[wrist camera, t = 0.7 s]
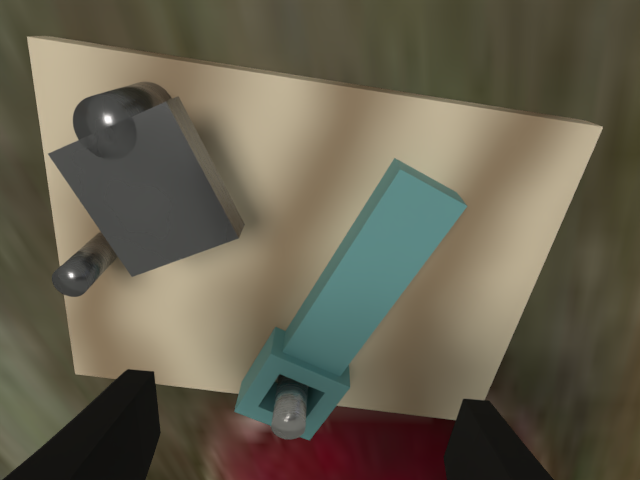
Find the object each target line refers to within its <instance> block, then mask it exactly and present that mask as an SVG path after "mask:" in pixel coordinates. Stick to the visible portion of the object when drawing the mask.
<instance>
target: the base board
mask: <svg viewBox="0 0 640 480" xmlns="http://www.w3.org/2000/svg"><path fill="white" fill-rule="evenodd" d="M27 39H28V46H29V53H30V60H31V67H32V74H33V81H34V88H35V95H36V102H37V109H38V116H39V123H40V130H41V137H42V144H43V151H44V158H45V165H46V172H47V179H48V186H49V193H50V200H51V207H52V214H53V221H54V228H55V235H56V242H57V249H58V256H59V263H60V266H61V265H63V264H64V263H65V262H66V261H67V260H68V259H69V258H70V257H72V256H73V255H74V254H75V253H76V252H77V251H78V250H80V249H81V248H82V247H83V246H84V245H85V244H86V243H87V242H89V241H90V240H91V239H92V238H93V237H94V236H95V235H96V234H98V233H99V232H101V231H100V230H99V228H98V227H97V225H96V224H95V222H94V221H93V219H92V218H91V217H90V215H89V214H88V212H87V211H86V209H85V208H84V206H83V205H82V203H81V202H80V200H79V199H78V197H77V196H76V195H75V193H74V192H73V190H72V189H71V187H70V186H69V184H68V183H67V181H66V180H65V178H64V177H63V176H62V174H61V173H60V171H59V170H58V168H57V167H56V165H55V164H54V162H53V161H52V159H51V158H50V156H49V155H48V153H51V152H53V151H55V150H57V149H60V148H62V147H64V146H66V145H69V144H71V143H73V142H75V141H78V140H79V139H78V138H77V136H76V134H75V131H74V127H73V114H74V110H75V108H76V106H77V105H78V104H79V103H80V102H81V101H82V100H83V99H85V98H87V97H90V96H93V95H96V94H100V93H104V92H107V91H111V90H114V89H118V88H121V87H125V86H128V85H132V84H135V83H139V82H152V83H155V84H157V85H159V86H161V87H162V88H164V89H165V90H166V91H167V92H168V94H169V95H170V96H171V98H172V99H173V98H175V97H177V96H179V98H180V100H181V102H182V104H183V106H184V107H185V109H186V111H187V113H188V115H189V117H190V119H191V121H192V123H193V125H194V127H195V129H196V131H197V133H198V135H199V136H200V138H201V140H202V142H203V144H204V146H205V148H206V150H207V152H208V154H209V156H210V158H211V160H212V162H213V164H214V165H215V167H216V169H217V171H218V173H219V175H220V177H221V179H222V181H223V183H224V185H225V187H226V189H227V191H228V192H229V194H230V196H231V198H232V200H233V202H234V204H235V206H236V208H237V210H238V212H239V214H240V216H241V218H242V220H243V221H244V223H245V225H244V228H243V230H242V232H241V235H240V237H239V239H236V240H233V241H230V242H228V243H225V244H222V245H219V246H216V247H214V248H211V249H208V250H205V251H203V252H200V253H197V254H194V255H192V256H189V257H186V258H183V259H181V260H178V261H175V262H172V263H170V264H167V265H164V266H161V267H159V268H156V269H153V270H150V271H147V272H145V273H142V274H139V275H136V276H134V277H131V275H130V274H129V272H128V271H127V269H126V268H125V266H124V265H123V263H122V262H121V260H120V259H119V258H118V257H117V258H116V260H115V261H114V262H113V263H112V264H111V265H110V266H109V267H108V268H107V269H106V270H105V271H104V273H103V274H102V275H101V276H100V277H99V278H98V279H97V280H96V281H95V282H94V283H93V284H92V286H91V287H90V288H89V289H88V290H87V291H86V292H85V293H84V294H83V295H81V296H78V297H70V296H66V295H64V298H65V305H66V312H67V319H68V326H69V333H70V340H71V347H72V354H73V361H74V368H75V374H79V375H87V376H96V377H104V378H112V379H117V378H118V377H119V376H120V375H121V374H122V373H123V372H125V371H126V370H127V369H132V370H143V371H154V375H155V384H162V385H170V386H178V387H186V388H195V389H203V390H211V391H219V392H228V393H236V394H239V390H240V386H241V382H242V380H243V379H244V377H245V376H246V374H247V372H248V371H249V369H250V367H251V366H252V364H253V363H254V361H255V359H256V358H257V356H258V354H259V353H260V351H261V350H262V348H263V346H264V345H265V343H266V341H267V340H268V338H269V337H270V335H271V333H272V332H273V330H274V328H275V327H277V328H279V329H282V330H284V331H286V329H287V328H288V326H289V325H290V323H291V321H292V320H293V318H294V317H295V315H296V314H297V312H298V310H299V309H300V307H301V306H302V304H303V302H304V301H305V299H306V298H307V296H308V295H309V293H310V291H311V290H312V288H313V287H314V285H315V283H316V282H317V280H318V279H319V277H320V275H321V274H322V272H323V271H324V269H325V268H326V266H327V264H328V263H329V261H330V260H331V258H332V256H333V255H334V253H335V252H336V250H337V249H338V247H339V245H340V244H341V242H342V241H343V239H344V237H345V236H346V234H347V233H348V231H349V229H350V228H351V226H352V225H353V223H354V222H355V220H356V218H357V217H358V215H359V214H360V212H361V210H362V209H363V207H364V206H365V204H366V203H367V201H368V199H369V198H370V196H371V195H372V193H373V191H374V190H375V188H376V187H377V185H378V183H379V182H380V180H381V179H382V177H383V176H384V174H385V172H386V171H387V169H388V168H389V166H390V164H391V163H392V161H393V160H394V158H396V159H397V160H399V161H401V162H403V163H405V164H406V165H408V166H410V167H412V168H414V169H416V170H417V171H419V172H421V173H423V174H425V175H426V176H428V177H430V178H432V179H434V180H435V181H437V182H439V183H441V184H443V185H444V186H446V187H448V188H450V189H452V190H453V191H455V192H457V193H458V195H459V196H460V197H461V198H462V200H463V201H464V202H465V204H466V205H467V207H466V209H465V210H464V211H463V213H462V214H461V215H460V217H459V218H458V219H457V221H456V222H455V223H454V225H453V226H452V227H451V229H450V230H449V231H448V233H447V234H446V235H445V237H444V238H443V239H442V241H441V242H440V243H439V245H438V246H437V247H436V249H435V250H434V251H433V253H432V254H431V256H430V257H429V258H428V260H427V261H426V262H425V264H424V265H423V266H422V268H421V269H420V270H419V272H418V273H417V274H416V276H415V277H414V278H413V280H412V281H411V282H410V284H409V285H408V286H407V288H406V289H405V290H404V292H403V293H402V294H401V296H400V297H399V298H398V300H397V301H396V302H395V304H394V305H393V306H392V308H391V309H390V310H389V312H388V313H387V314H386V316H385V317H384V318H383V320H382V321H381V322H380V324H379V325H378V326H377V328H376V329H375V330H374V332H373V333H372V334H371V336H370V337H369V338H368V340H367V341H366V342H365V344H364V345H363V346H362V348H361V349H360V350H359V352H358V353H357V354H356V356H355V357H354V358H353V360H352V361H351V363H350V364H349V373H350V389H349V390H348V391H347V393H346V394H345V395H344V396H343V398H342V399H341V400H340V402H339V403H338V404H337V406H343V407H351V408H359V409H368V410H376V411H384V412H392V413H401V414H409V415H417V416H425V417H434V418H442V419H450V420H456V419H457V416H458V413H459V410H460V407H461V404H462V401H463V399H474V400H485V398H486V396H487V393H488V391H489V389H490V386H491V384H492V382H493V380H494V377H495V375H496V373H497V370H498V368H499V366H500V363H501V361H502V359H503V357H504V354H505V352H506V350H507V347H508V345H509V343H510V340H511V338H512V336H513V333H514V331H515V329H516V327H517V324H518V322H519V320H520V317H521V315H522V313H523V310H524V308H525V306H526V304H527V301H528V299H529V297H530V294H531V292H532V290H533V287H534V285H535V283H536V281H537V278H538V276H539V274H540V271H541V269H542V267H543V264H544V262H545V260H546V257H547V255H548V253H549V251H550V248H551V246H552V244H553V241H554V239H555V237H556V234H557V232H558V230H559V228H560V225H561V223H562V221H563V218H564V216H565V214H566V211H567V209H568V207H569V205H570V202H571V200H572V198H573V195H574V193H575V191H576V188H577V186H578V184H579V181H580V179H581V177H582V175H583V172H584V170H585V168H586V165H587V163H588V161H589V158H590V156H591V154H592V152H593V149H594V147H595V145H596V142H597V140H598V138H599V135H600V133H601V131H602V129H603V127H602V126H599V125H596V124H594V123H591V122H588V121H585V120H579V119H573V118H566V117H560V116H554V115H547V114H541V113H535V112H528V111H522V110H515V109H509V108H503V107H496V106H490V105H484V104H477V103H471V102H465V101H458V100H452V99H445V98H439V97H433V96H426V95H420V94H414V93H407V92H401V91H395V90H388V89H382V88H376V87H369V86H363V85H356V84H350V83H344V82H337V81H331V80H325V79H318V78H312V77H306V76H299V75H293V74H286V73H280V72H274V71H267V70H261V69H255V68H248V67H242V66H236V65H229V64H223V63H216V62H210V61H204V60H197V59H191V58H185V57H178V56H172V55H166V54H159V53H153V52H146V51H140V50H134V49H127V48H121V47H115V46H108V45H102V44H96V43H89V42H83V41H77V40H70V39H64V38H57V37H51V36H33V37H27ZM275 382H276V383H278V377H277V379H276V380H275ZM308 387H309V386H308Z"/></svg>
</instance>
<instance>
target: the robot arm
mask: <svg viewBox="0 0 640 480" xmlns="http://www.w3.org/2000/svg"><path fill="white" fill-rule="evenodd" d="M159 436H160V424H159V414H158V404H157V395H156V385H155V375H154V371H143V370H132V369H127V370H126V371H125V372H123V373H122V374H121V375H120V376H119V377H118V378H117V379H116V380H115V381H114V382H112V383H111V384H110V385H109V386H108V387H107V388H106V389H105V390H104V391H103V392H102V393H101V394H100V395H99V396H98V397H96V398H95V399H94V400H93V401H92V402H91V403H90V404H89V405H88V406H87V407H86V408H85V409H84V410H82V411H81V412H80V413H79V414H78V415H77V416H76V417H75V418H74V419H73V420H72V421H70V422H69V423H68V424H67V425H66V426H65V427H64V428H63V429H61V430H60V431H59V432H58V433H57V434H56V435H55V436H53V437H52V438H51V439H50V440H49V441H48V442H47V443H46V444H44V445H43V446H42V447H41V448H40V449H39V450H38V451H36V452H35V453H34V454H33V455H32V456H30V457H29V458H28V459H27V460H26V461H24V462H23V463H22V464H21V465H20V466H18V467H17V468H16V469H15V470H13V471H12V472H11V473H10V474H9V475H7V476H6V477H5V478H4V479H3V480H145V479H146V476H147V473H148V470H149V467H150V464H151V461H152V458H153V455H154V452H155V449H156V446H157V443H158V439H159ZM444 463H445V469H446V476H447V480H554V479H553V478H552V477H551V476H550V475H549V474H548V472H547V471H546V470H545V469H544V468H543V466H542V465H541V464H540V463H539V462H538V460H537V459H536V458H535V457H534V456H533V454H532V453H531V452H530V451H529V449H528V448H527V447H526V446H525V445H524V443H523V442H522V441H521V440H520V438H519V437H518V436H517V435H516V433H515V432H514V431H513V430H512V429H511V427H510V426H509V425H508V424H507V422H506V421H505V420H504V419H503V417H502V416H501V415H500V414H499V412H498V411H497V410H496V409H495V407H494V406H493V405H492V404H491V403H490V401H486V400H474V399H463V401H462V404H461V407H460V410H459V413H458V416H457V419H456V422H455V425H454V428H453V431H452V434H451V437H450V440H449V443H448V446H447V449H446V452H445V455H444Z"/></svg>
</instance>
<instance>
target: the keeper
mask: <svg viewBox="0 0 640 480" xmlns="http://www.w3.org/2000/svg"><path fill="white" fill-rule="evenodd" d="M73 127H74V131H75V134H76V136H77V138H78V139H79V140H78V141H75V142H73V143H71V144H69V145H66V146H64V147H62V148H60V149H57V150H55V151H53V152H51V153H48V155H49V156H50V158H51V159H52V161H53V162H54V164H55V165H56V167H57V168H58V170H59V171H60V173H61V174H62V176H63V177H64V178H65V180H66V181H67V183H68V184H69V186H70V187H71V189H72V190H73V192H74V193H75V195H76V196H77V197H78V199H79V200H80V202H81V203H82V205H83V206H84V208H85V209H86V211H87V212H88V214H89V215H90V217H91V218H92V219H93V221H94V222H95V224H96V225H97V227H98V228H99V230H100V231H101V232H99V233H98V234H96V235H95V236H94V237H93V238H92V239H91V240H90V241H89V242H87V243H86V244H85V245H84V246H83V247H82V248H81V249H80V250H78V251H77V252H76V253H75V254H74V255H73V256H72V257H70V258H69V259H68V260H67V261H66V262H65V263H64V264H63V265H61V266H60V267H59V268H58V269H57V270H56V271H55V272H54V273H53V275H52V282H53V284H54V286H55V288H56V289H57V290H58V291H59V292H61V293H62V294H64V295H66V296H70V297H78V296H81V295H83V294H84V293H85V292H86V291H87V290H88V289H89V288H90V287H91V286H92V284H93V283H94V282H95V281H96V280H97V279H98V278H99V277H100V276H101V275H102V274H103V273H104V271H105V270H106V269H107V268H108V267H109V266H110V265H111V264H112V263H113V262H114V261H115V260H116V258H117V257H118V258H119V259H120V260H121V262H122V263H123V265H124V266H125V268H126V269H127V271H128V272H129V274H130V275H131V277H134V276H136V275H139V274H142V273H145V272H147V271H150V270H153V269H156V268H159V267H161V266H164V265H167V264H170V263H172V262H175V261H178V260H181V259H183V258H186V257H189V256H192V255H194V254H197V253H200V252H203V251H205V250H208V249H211V248H214V247H216V246H219V245H222V244H225V243H228V242H230V241H233V240H236V239H239V237H240V235H241V232H242V230H243V228H244V225H245V223H244V221H243V220H242V218H241V216H240V214H239V212H238V210H237V208H236V206H235V204H234V202H233V200H232V198H231V196H230V194H229V192H228V191H227V189H226V187H225V185H224V183H223V181H222V179H221V177H220V175H219V173H218V171H217V169H216V167H215V165H214V164H213V162H212V160H211V158H210V156H209V154H208V152H207V150H206V148H205V146H204V144H203V142H202V140H201V138H200V136H199V135H198V133H197V131H196V129H195V127H194V125H193V123H192V121H191V119H190V117H189V115H188V113H187V111H186V109H185V107H184V106H183V104H182V102H181V100H180V98H179V96H177V97H175V98H173V99H172V98H171V96H170V95H169V94H168V92H167V91H166V90H165V89H164V88H162V87H161V86H159V85H157V84H155V83H152V82H139V83H135V84H132V85H128V86H125V87H121V88H118V89H114V90H111V91H107V92H104V93H100V94H96V95H93V96H90V97H87V98H85V99H83V100H82V101H81V102H80V103H79V104H78V105H77V106H76V108H75V110H74V114H73Z"/></svg>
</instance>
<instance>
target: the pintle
mask: <svg viewBox="0 0 640 480" xmlns="http://www.w3.org/2000/svg"><path fill="white" fill-rule="evenodd" d="M307 393H308V386H307V385H305V384H303V383H300V382H298V381H295V380H293V379H290V378H288V377H286V376H283V375H281V374H279V376H278V383H277V389H276V396H275V403H274V410H273V417H272V424H271V429H272V431H273V433H274V434H275V435H277V436H278V437H280V438H283V439H295V438H298V437H300V436H301V435H302V434H303V433H304V432H305V426H306V410H307Z"/></svg>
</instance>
